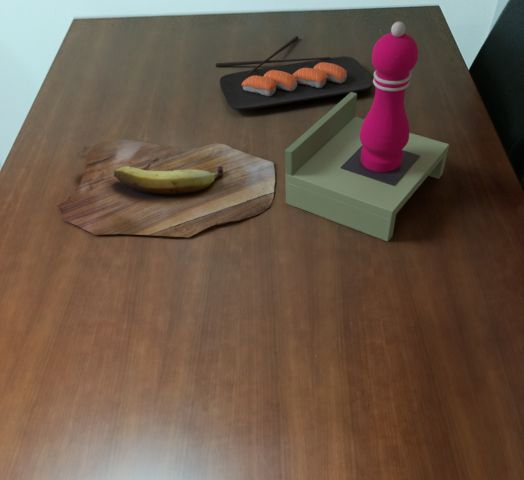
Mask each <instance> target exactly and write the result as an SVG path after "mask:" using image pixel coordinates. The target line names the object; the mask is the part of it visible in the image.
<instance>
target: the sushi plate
mask: <svg viewBox="0 0 524 480" xmlns="http://www.w3.org/2000/svg"><path fill="white" fill-rule="evenodd" d="M298 40H299V36H298V35H295V36H293V38H291V39H290V40H289V41H287V42H286V43H284V44H283V46H281V47H280V48H278V49H277V50H276V51H275V52H274V53H272V54H271V55H270V56H268V58H266V59H264V60H251V61H250V60H249V61H248V60H246V61H229V62H226V61H225V62H216V63H215V67H216V68H221V67H233V66H234V67H236V66H247V65H249V66H250V65H257V66H255V67H254V68H253V69H250V70H244V71H243V70H242V71H237V72H232V73H228V74H224V75H223V76H221V77H220V78H219V87H220V89H221V92H222V94H223V97H224V99H225V102H226V103H227V105H228V106H229V107H230V108H231V110H234V111H248V110H249V111H250V110H256V109H262V108H263V109H264V108H268V107H269V108H270V107H274V106H275V107H276V106H281V105H287V104H295V103H300V102H306V101H312V100H318V99H325V98H332V97H338V96H343V95H348V94H349V93H350V92H353V93H360V92H364V91H368V90H370V89H371V88H373V86H374V84H373V80H372V78H371V76H370V75H369V73H368V71H366V69H365V68H364V67H363V66H362V64H361V63H360V62H359V61H358V60H357V59H355V58H354V57H352V56H334V57H331V56H323V57H322V56H321V57H307V58H306V57H305V58H304V57H303V58H289V59H288V58H287V59H272V58H274V57H275V56H277V55H278V54H280V53H281V52H282V51H284V50H285V49H287V48H289V47H290V46H291V45H292V44H293V43H295V42H296V41H298ZM287 62H295V63H289V64H282V65H275V66H269V67H262V68H260V67H261V66H263V65H264V64H276V63H287Z"/></svg>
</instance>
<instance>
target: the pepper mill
mask: <svg viewBox="0 0 524 480" xmlns="http://www.w3.org/2000/svg"><path fill="white" fill-rule="evenodd" d="M405 32H406V24H405V23H403V21H396V22H394V23H393V24H392V26H391V28H390V32H388V33H386V34H384V35H382V36H381V37H380V38H379V39H378V40H377V41H376V43H375V44H374V46H373V49H372V53H371V54H372V55H371V63H372V66H373V68H374V69H375V70H374V72H373V80H372V82H373V86H374V87H375V91H374V92H375V93H374V97H373V102H372V105H371V108H370V109H369V111H368V113H367V114H366V116H365V117H364V118H363V119H364V121H363V124H362V126H361V130H360V141H361V143H362V145H363V148H362V150H361V163H362V165H363V166H364V167H365V168H367V169H369V170H371V171H375V172H390V171H393V170H395V169H397V168H398V167H399V166H400V165H401V163H402V157H403V150H402V149H403V148H404V147H405V146H406V145H407V143H408V140H409V133H411V132H410V123H409V120H408V116H407V112H406V109H405V93H406V89H407V88H408V87H409V86H410V84H411V78H412V73H411V71H412V70H413V69H414V67H415V66H416V65H417V62H418V58H419V48H418V45H417V42H416V41H415V39H414V37H412V36H411V35H409V34H407V33H405Z"/></svg>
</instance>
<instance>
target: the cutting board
mask: <svg viewBox="0 0 524 480" xmlns="http://www.w3.org/2000/svg"><path fill="white" fill-rule="evenodd" d="M86 157H87V158H86V163H85V170H84V172H83V176H82V177H81V180H80V183H79V185H78V186H77V187H76V189H75V190H74V191H73V193H72V194H71V195H70V196H69V197H68V198H67V199H66V200H65V201H63V202H61V203H60V204H57V205H55V207H56V208H59V209H60V211H61V218H62V220H63V221H65V222H68V223H70V224H72V225H74V226H76V227H79V228H80V229H82V230H84V231H87V232H88V233H91V234H92V235H94V236H102V235H135V236H136V235H137V236H153V237H155V236H157V237H175V238H177V237H178V238H191V237H192V236H194V235H197V234H199V233H200V232H202V231H204V230H206V229H208V228H211V227H213V226H216V225H217V226H219V225H224V224H228V223H229V222H239V221H242V220H246V219H247V218H251V217H255V216H258V215H260V214H262V213H263V212H265V211H266V210H268V209H269V208H270V207H271V205H272V203H273V200H274V196H275V185H276V184H275V183H276V169H275V164H274V161H270V160H267V159H265V158H261V157H259V156H255V155H253V154H249V153H247V152H244V151H242V150H239V149H237V148H233V147H231V146H229V145H227V144H224V143H218V142H217V143H215V142H214V143H211V144H205V145H203V146H198V147H189V148H180V147H174V146H171V145H164V144H158V143H157V144H156V143H151V142H146V141H141V140H136V139H131V138H129V139H116V140H106V141H103V142H100V143H97V144H94V146H93V147H92V148H91V149H90V150H89V151H88V152H87V156H86Z"/></svg>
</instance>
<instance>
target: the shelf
mask: <svg viewBox="0 0 524 480" xmlns="http://www.w3.org/2000/svg"><path fill="white" fill-rule="evenodd" d="M357 99H358V92H355V93H353V92H350V93H349V94H346V96H345V97H343V99H340V101H339V102H338V103H337V104H335V105H334V106H333V107H332V108H331V109H330V110H329V111H327V112H326V113H325V114H324V115H322V116H321V118H320V119H319V120H318V121H316V122H315V123H314V124H313V125H312V126H311V127H309V128H308V129H307V130H306V131H305V132H304V133H303V134H302V135H300V136H299V138H297V139H296V140H295V141H294V142H293V143H292V144H290V145H289V146H288V147H287V148H286V149H285V150H284V152H285V153H284V160H285V161H284V162H285V163H284V164H285V166H284V167H285V169H284V170H285V172H284V174H285V204H287V205H289V206H292V207H295V208H297V209H300V210H303V211H305V212H308V213H311V214H313V215H315V216H318V217H321V218H324V219H327V220H329V221H332V222H334V223H337V224H340V225H341V226H345V227H348V228H349V229H353V230H356V231H358V232H361V233H363V234H367V235H368V236H372V237H374V238H377V239H379V240H382V241H385V242H389V241H390V240H391V239H392V237H393V235H394V229H395V223H396V218H397V214H398V213H399V212H400V210H401V209H402V208H403V207H404V205H405V204H406V203H407V202H408V201H409V199H410V198H411V197H412V196H413V194H414V193H415V192H416V191H417V190H418V189H419V188H420V186H421V185H422V184H423V183H424V182H425V180H426V179H427V178H428V177H431V178H434V179H437V180H440V179H441V177H442V175H443V174H444V171H445V166H446V161H447V157H448V153H449V148H450V144H449V143H446V142H443V141H439V140H435V139H432V138H429V137H426V136H422V135H418V134H415V133H413V132H409V140H408V143H407V145H406V146H405V147H404V148H403V149H402V150H403V157H402V163H401V165H400V166H399V167H398V168H397V169H395V170H393V171H390V172H375V171H371V170H369V169H367V168H365V167H364V166H363V165H362V163H361V150H362V148H363V145H362V143H361V141H360V130H361V126H362V124H363V121H364V119H365V118H361V117H358V116H356V113H357V112H356V111H357V102H358V101H357Z"/></svg>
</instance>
